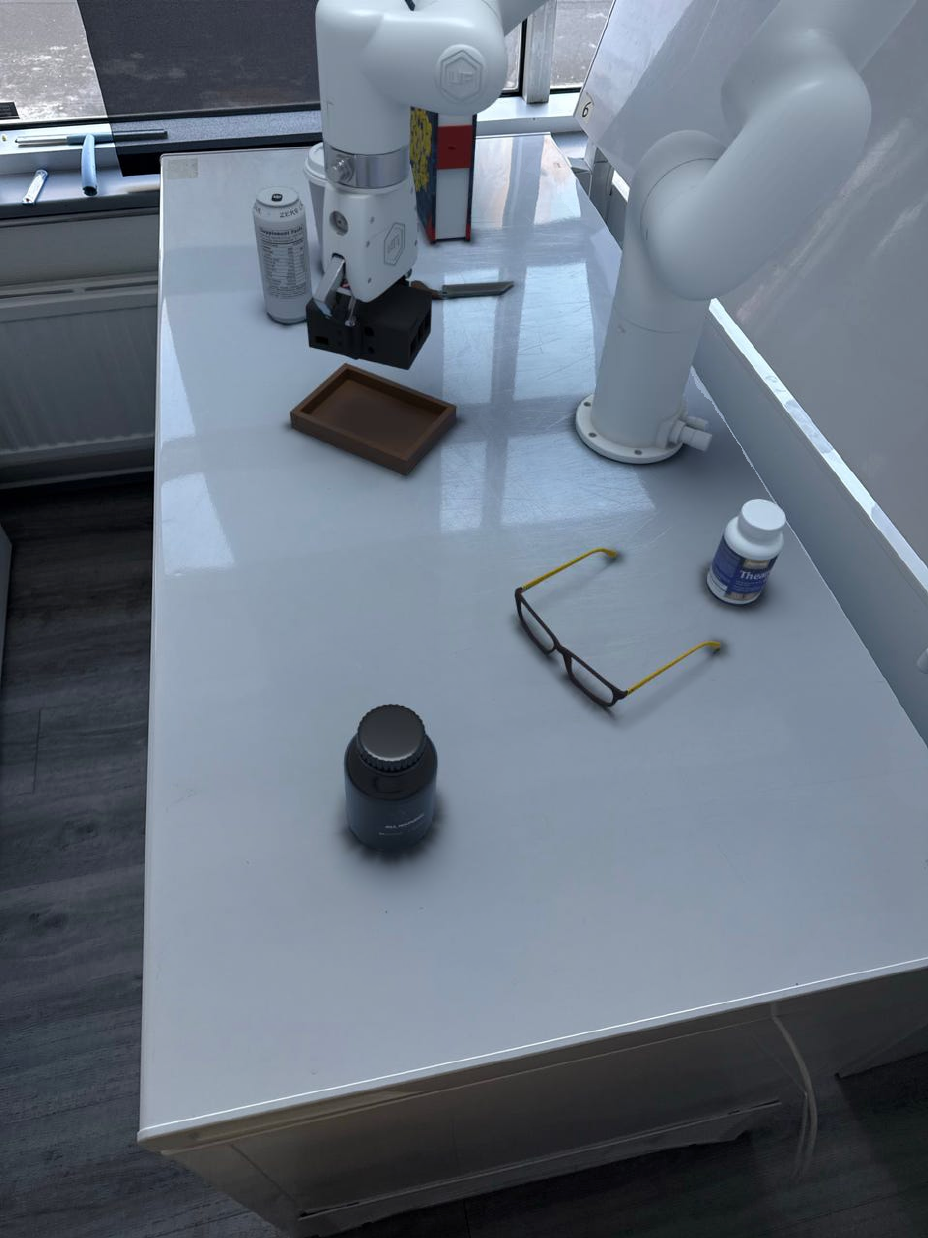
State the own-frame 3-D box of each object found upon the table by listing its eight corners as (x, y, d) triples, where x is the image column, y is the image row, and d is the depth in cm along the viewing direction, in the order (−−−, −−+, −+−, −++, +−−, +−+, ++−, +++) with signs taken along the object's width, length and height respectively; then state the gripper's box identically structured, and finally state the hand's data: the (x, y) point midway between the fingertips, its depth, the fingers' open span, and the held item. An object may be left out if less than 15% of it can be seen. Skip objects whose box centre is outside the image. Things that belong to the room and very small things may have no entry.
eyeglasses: (503, 619, 84) (507, 591, 81) (614, 555, 90) (622, 527, 87) (607, 725, 77) (615, 699, 74) (720, 648, 83) (732, 621, 80)
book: (393, 164, 142) (391, -22, 123) (436, 161, 143) (440, -23, 124) (427, 245, 126) (431, 47, 107) (474, 241, 128) (486, 45, 109)
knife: (414, 300, 117) (414, 295, 117) (409, 284, 120) (409, 279, 119) (518, 294, 119) (518, 289, 119) (511, 278, 122) (512, 273, 121)
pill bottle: (728, 613, 86) (759, 542, 78) (694, 575, 89) (722, 503, 81) (771, 595, 88) (806, 524, 80) (737, 558, 91) (768, 487, 83)
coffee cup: (396, 264, 123) (395, 151, 111) (353, 294, 117) (348, 179, 106) (340, 242, 126) (334, 129, 114) (296, 270, 120) (285, 155, 109)
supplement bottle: (402, 870, 68) (402, 794, 59) (329, 824, 70) (319, 744, 61) (450, 802, 72) (458, 720, 62) (380, 760, 74) (378, 675, 64)
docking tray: (456, 420, 102) (457, 405, 101) (406, 475, 96) (406, 460, 94) (346, 377, 106) (345, 362, 105) (291, 427, 100) (289, 411, 98)
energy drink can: (315, 299, 116) (305, 183, 105) (312, 326, 112) (301, 208, 101) (268, 298, 116) (253, 181, 104) (263, 324, 112) (247, 206, 100)
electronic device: (407, 373, 90) (408, 329, 86) (308, 350, 91) (304, 305, 87) (431, 333, 94) (432, 290, 90) (336, 312, 96) (333, 268, 92)
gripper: (347, 209, 72) (355, 388, 86) (452, 134, 82) (444, 305, 96) (271, 184, 74) (290, 362, 88) (383, 113, 84) (385, 283, 98)
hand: (371, 332), depth 92 cm, fingers closed on electronic device, 8 cm apart
